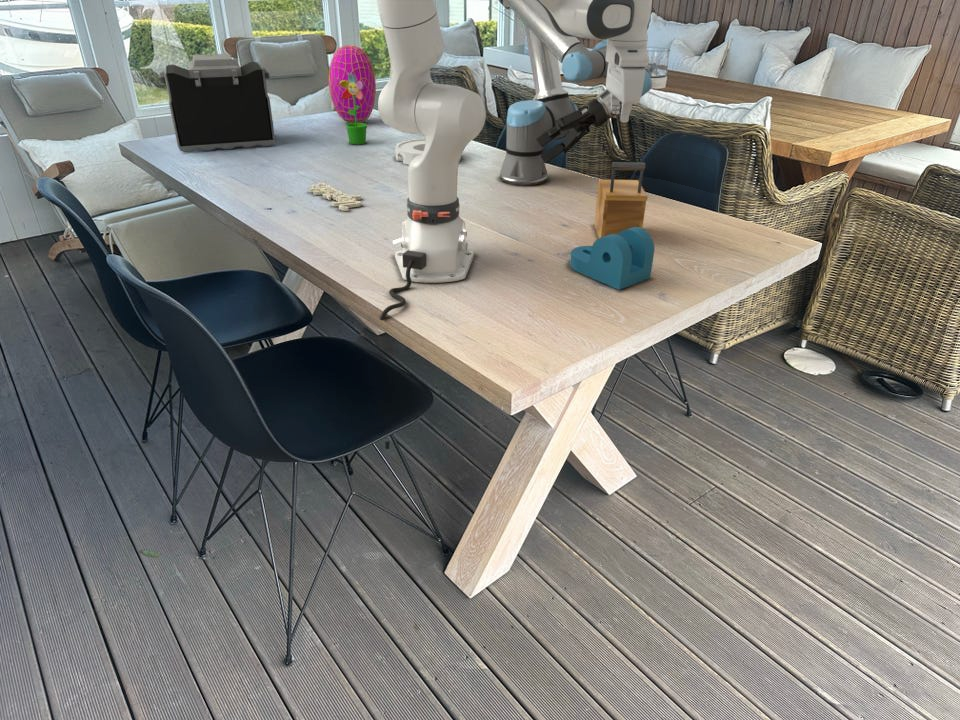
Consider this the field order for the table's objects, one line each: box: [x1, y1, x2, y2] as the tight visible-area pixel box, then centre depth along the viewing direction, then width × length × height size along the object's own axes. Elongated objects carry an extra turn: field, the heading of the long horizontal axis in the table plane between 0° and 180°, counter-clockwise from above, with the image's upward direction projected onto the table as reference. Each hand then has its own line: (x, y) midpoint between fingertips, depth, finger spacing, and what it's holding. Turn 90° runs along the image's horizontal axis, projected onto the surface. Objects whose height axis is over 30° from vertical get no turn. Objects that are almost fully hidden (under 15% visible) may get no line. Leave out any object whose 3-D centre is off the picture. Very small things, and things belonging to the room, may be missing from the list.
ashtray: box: [394, 138, 462, 166], centre depth 243 cm, size 23×23×4 cm
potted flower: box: [339, 73, 368, 145], centre depth 255 cm, size 9×8×25 cm
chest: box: [594, 184, 647, 239], centre depth 176 cm, size 13×10×11 cm
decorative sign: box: [308, 182, 362, 212], centre depth 203 cm, size 26×1×10 cm
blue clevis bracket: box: [569, 227, 655, 291], centre depth 155 cm, size 18×10×10 cm, turn 39°
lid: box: [598, 161, 648, 202], centre depth 171 cm, size 14×10×8 cm
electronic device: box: [159, 53, 276, 153], centre depth 251 cm, size 37×22×30 cm, turn 111°
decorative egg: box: [328, 44, 377, 124], centre depth 286 cm, size 19×19×30 cm
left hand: (619, 117), depth 161 cm, fingers open, 8 cm apart
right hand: (540, 151), depth 201 cm, fingers open, 13 cm apart
